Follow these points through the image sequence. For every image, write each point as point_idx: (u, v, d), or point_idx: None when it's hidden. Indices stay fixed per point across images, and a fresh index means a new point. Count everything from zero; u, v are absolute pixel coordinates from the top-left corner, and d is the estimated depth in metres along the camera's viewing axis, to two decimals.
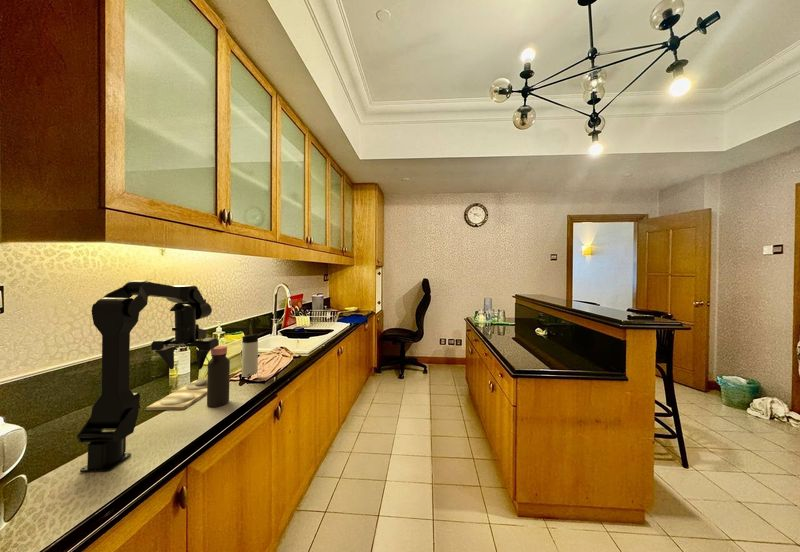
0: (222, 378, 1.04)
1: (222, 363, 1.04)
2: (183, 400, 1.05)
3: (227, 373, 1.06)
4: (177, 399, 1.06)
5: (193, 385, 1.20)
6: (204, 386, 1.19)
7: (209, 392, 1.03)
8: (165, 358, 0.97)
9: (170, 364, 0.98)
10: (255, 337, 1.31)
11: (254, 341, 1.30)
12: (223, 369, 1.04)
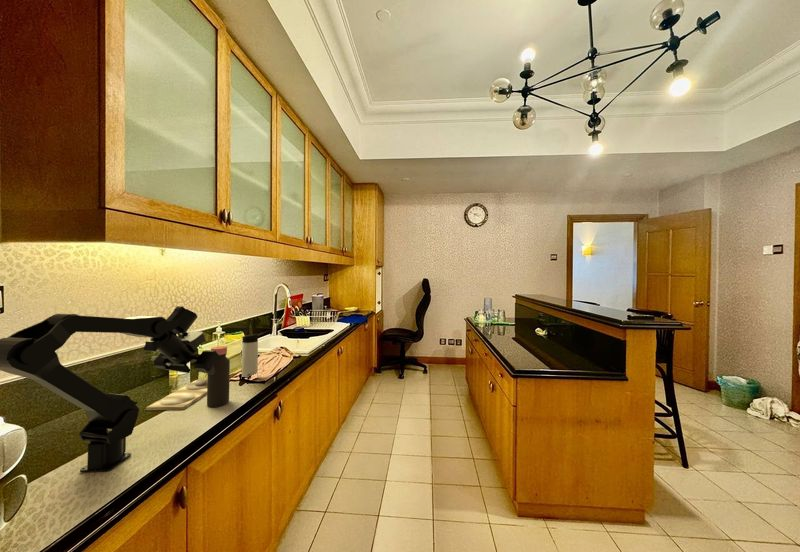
0: (222, 378, 1.04)
1: (222, 363, 1.04)
2: (183, 400, 1.05)
3: (227, 373, 1.06)
4: (177, 399, 1.06)
5: (193, 385, 1.20)
6: (204, 386, 1.19)
7: (209, 392, 1.03)
8: (176, 370, 0.95)
9: (184, 371, 0.97)
10: (255, 337, 1.31)
11: (254, 341, 1.30)
12: (223, 369, 1.04)
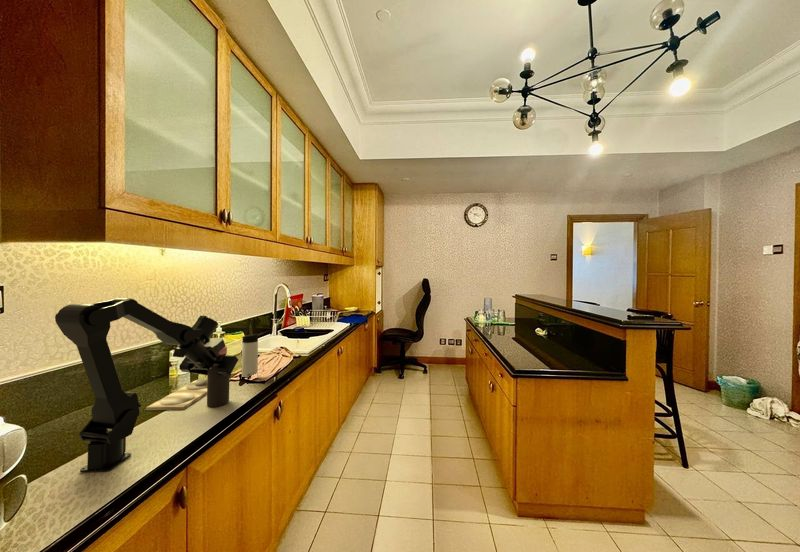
0: (222, 378, 1.04)
1: None
2: (183, 400, 1.05)
3: None
4: (177, 399, 1.06)
5: (193, 385, 1.20)
6: (204, 386, 1.19)
7: (209, 392, 1.03)
8: (201, 374, 1.03)
9: None
10: (255, 337, 1.31)
11: (254, 341, 1.30)
12: None
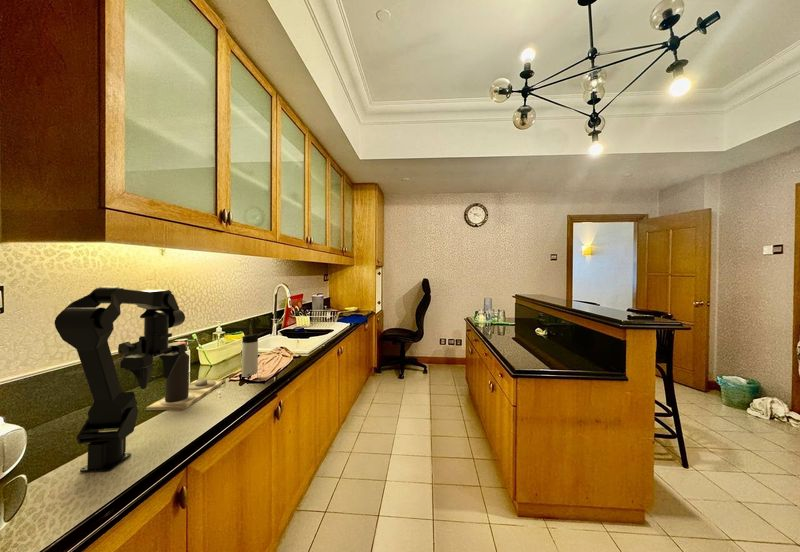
0: (185, 372, 1.06)
1: (184, 357, 1.06)
2: (183, 400, 1.05)
3: (188, 367, 1.08)
4: None
5: (193, 385, 1.20)
6: (204, 386, 1.19)
7: (170, 387, 1.03)
8: (149, 374, 0.84)
9: None
10: (255, 337, 1.31)
11: (254, 341, 1.30)
12: (185, 363, 1.06)
